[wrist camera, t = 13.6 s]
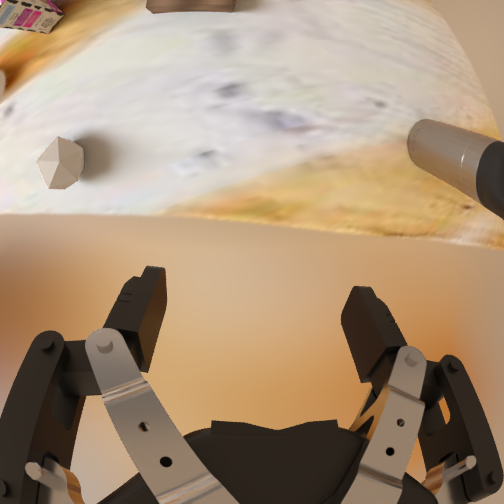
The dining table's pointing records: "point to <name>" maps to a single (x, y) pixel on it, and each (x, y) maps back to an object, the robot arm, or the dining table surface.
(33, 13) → the candy bar box
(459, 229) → the dining table surface
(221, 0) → the walnut block
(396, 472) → the robot arm
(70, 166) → the die
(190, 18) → the dining table surface
